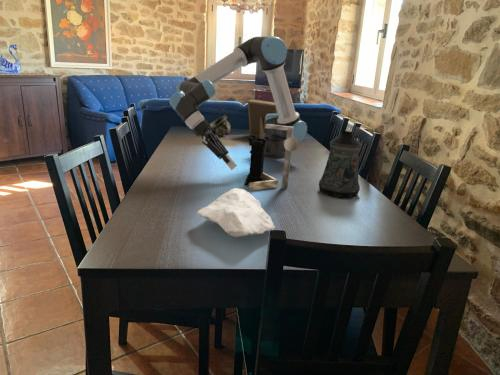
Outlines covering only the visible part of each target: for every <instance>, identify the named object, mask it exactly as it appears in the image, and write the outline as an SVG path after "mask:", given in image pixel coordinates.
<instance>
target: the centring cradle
mask: <svg viewBox="0 0 500 375" xmlns="http://www.w3.org/2000/svg"><path fill="white" fill-rule="evenodd" d="M267 128H269V129H278V130H287V139H286V140H284V148H285V157H283V158H284V159H283V160H284V161H283V169H282V170H283V171H282V179H281V180H282V181H281V189H283V190H287V189H288V186H289V184H288V183H289V178H290V177H289V175H290V174H289V173H290V168H291V167H290V166H291V157H292V152H293V151H295V150H296V149H297V148H298V146H299V142H298V141H297V139H296V138H294V137H293V130H294V127H292V126H281V125H272V124H266V127H265V128H264V133H267ZM263 173H264V174H265V176H264V177H266V179H265V180H266V181H259V182H250V183H249V186H248V191H250V192H251V191H257V190H259V191H260V190H265V189H274V188H278V184H279V180H278V179H277V178H276V177H273V176H271V175H269V174H267V173H265V172H264V171H263Z"/></svg>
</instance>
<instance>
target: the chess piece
mask: <svg viewBox="0 0 500 375" xmlns="http://www.w3.org/2000/svg"><path fill="white" fill-rule="evenodd" d="M268 140H269V136H265V139H260V137H256V135H251V136H249V137H248V144H249V145H248V146H250V148H251V149H250V151H249V154H250V160H249V172H248V174H247V175H246V179H245V182H244V183H243V185H244V186H246V187H247V186H248V187H249V183H250V182H259V181H266V180H265V179H266V177H264V176H265V174H264V173H265V172H264V164H265V163H264V162H265V156H264V153H265V152H266V150H265V146H266V145H267V144H268ZM263 172H264V173H263Z"/></svg>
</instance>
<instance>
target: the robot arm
mask: <svg viewBox="0 0 500 375" xmlns="http://www.w3.org/2000/svg"><path fill="white" fill-rule="evenodd" d="M287 55H288V48H287V45H286V43H285V41H284V40H283V38H280V37H278V36H273V35H269V36H255V37H254V36H253V37H251V38H249V39H247V40H245V41H244V42H243V43H241V44H239V45H237V46H236V47H235V48H233V52H231V53H230V54H227V55H226V56H224V57H223V58H221V59H219V60H218V61H217V62H215V63H213V64H211V65H210V66H209V67H207V68H206V69H204V70H202V71H200V72H199V73H197V74H196V75H194V76H193V77H191V78H190V79H188V80H183V81H180V82H178V83H177V86H176V92H175V93H174V94H172V96H171V97H170V98H169V100H168V102H169V104H170V107H172V109H173V110H174V111H175V112H176V113H177V115H178V116H179V117H180V118H181V120H182V121H183V122H184V123H185V125H186V126H187V127H188V128H189V129H190V130H191V132H192V133H193V134H194V135H195V136H196V138H199V137H201V139H202V141H201V143H202V144H203V145H204V146H206V148H208V149H209V151H210V152H212V153H213V155H215V156H216V157H217V158H218V159H219V160H222V161H224V163H225V164H226V165H227V166H228V168H229V169H230V170H231V171H233V170H234V169H235V168H236V167H237V164H236V161H235V162H234V160H233V159H232V157H230V155H229V150H228V149H227V148H226V146H225V145H224V143H223V142H222V140H221V139H220V136H219V135H217V134H216V133H214V132H213V131H212V130H210V129H211V125H210V124H211V123H209V121H208V120H207V119H205V117H204V115H203V114H202V113H201V112H200V110H199V109H198V108H199V107H200V106H202V105H203V104H205V103H206V102H207V101H209V100H211V98H213V97H214V96H215V95H216V93H217V90H216V88H215V84H216V83H218V82H220V80H223V79H224V78H226V77H227V76H229V75H230V74H232V73H233V72H235V71H236V70H239V68H242V67H244V68H245V67H246V66H248V65H251V64H256V63H257V64H259V65H260V68H261V72H263V73H265V74H266V78H267V82H268V85H269V87H270V91H271V94H272V98H273V102H275V105H276V108H277V112H278V114H267V115H266V117H265V125H264V128H265V127H266V124H272V125H281V126H292V127H294V130H293V137H294V138H296V139H297V141H298V143H300V142H301V141H302V140H304V139H305V137H306V134H307V133H308V132H307V131H308V125H307V122H305V121H304V120H302V119H301V117H300V113H299V112H297V111H296V109H295V106H294V103H293V98H292V95H291V91H290V88H289V84H288V79H287V76H286V73H285V69H284V66H285V65H286V59H287ZM265 136H269V140H268V144H267V145H266V146H265V150H266V152H265V153H264V158H265V157H267V158H270V159H271V158H272V159H281V158H285V148H284V141H285V140H286V139H287V130H278V129H269V128H267V133H264V139H265Z"/></svg>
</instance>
